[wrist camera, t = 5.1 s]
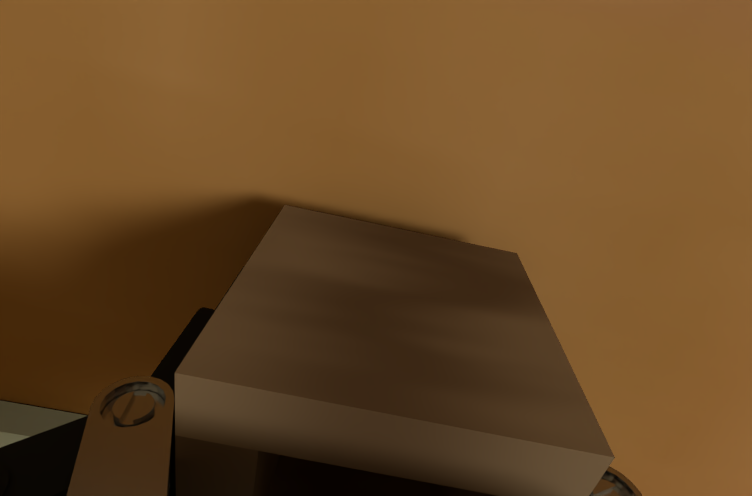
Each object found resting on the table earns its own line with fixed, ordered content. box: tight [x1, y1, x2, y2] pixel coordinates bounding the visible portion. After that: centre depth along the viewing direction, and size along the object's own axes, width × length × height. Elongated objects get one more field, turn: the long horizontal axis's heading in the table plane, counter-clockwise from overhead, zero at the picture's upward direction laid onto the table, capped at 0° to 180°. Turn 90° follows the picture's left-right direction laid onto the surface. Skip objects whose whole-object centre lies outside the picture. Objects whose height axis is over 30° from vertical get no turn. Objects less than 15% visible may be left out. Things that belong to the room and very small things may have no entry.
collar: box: [175, 205, 615, 496], centre depth 10 cm, size 6×6×6 cm
